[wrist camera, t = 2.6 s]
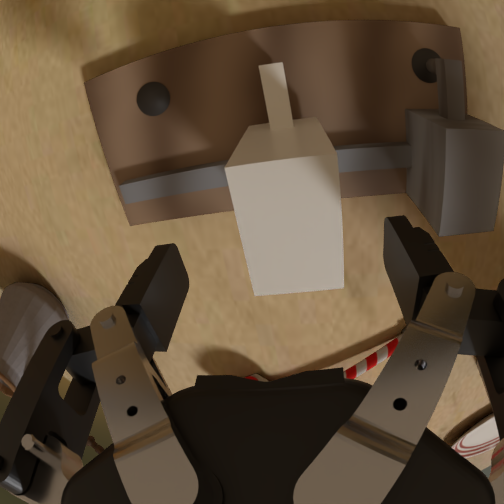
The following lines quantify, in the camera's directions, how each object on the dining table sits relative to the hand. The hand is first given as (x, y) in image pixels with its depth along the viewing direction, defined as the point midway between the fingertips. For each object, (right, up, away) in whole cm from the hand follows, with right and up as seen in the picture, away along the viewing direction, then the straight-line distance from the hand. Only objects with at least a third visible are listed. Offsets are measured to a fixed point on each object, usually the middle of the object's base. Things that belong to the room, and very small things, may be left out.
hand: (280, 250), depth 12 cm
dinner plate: (+53, -37, +33) cm, 73 cm away
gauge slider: (+1, +7, +7) cm, 10 cm away
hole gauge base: (+1, +9, +8) cm, 12 cm away
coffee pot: (-23, -8, +23) cm, 33 cm away
